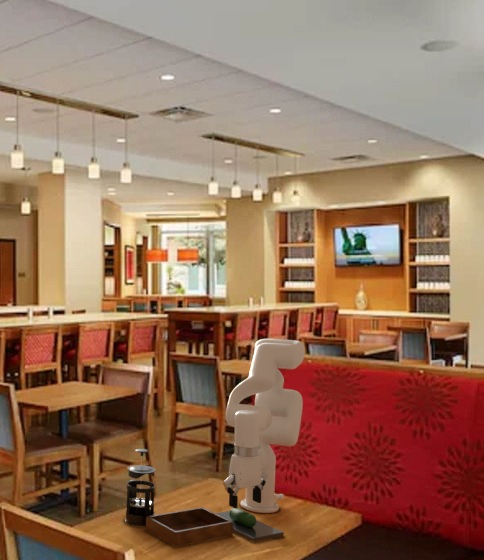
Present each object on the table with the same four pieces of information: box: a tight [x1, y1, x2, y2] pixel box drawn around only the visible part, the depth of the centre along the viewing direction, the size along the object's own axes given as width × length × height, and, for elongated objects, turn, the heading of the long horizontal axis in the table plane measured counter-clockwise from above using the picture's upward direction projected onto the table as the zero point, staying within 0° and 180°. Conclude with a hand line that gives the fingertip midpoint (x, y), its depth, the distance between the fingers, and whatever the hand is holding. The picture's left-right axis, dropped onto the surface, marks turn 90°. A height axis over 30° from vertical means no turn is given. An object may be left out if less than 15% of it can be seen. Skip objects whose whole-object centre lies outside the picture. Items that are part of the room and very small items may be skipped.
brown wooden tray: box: [145, 506, 234, 547], centre depth 220 cm, size 22×15×4 cm
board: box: [214, 510, 285, 543], centre depth 227 cm, size 12×22×2 cm, turn 29°
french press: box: [124, 448, 157, 527], centre depth 229 cm, size 12×9×23 cm
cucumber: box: [229, 507, 257, 527], centre depth 226 cm, size 4×10×4 cm, turn 29°
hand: (245, 504), depth 228 cm, fingers open, 9 cm apart
